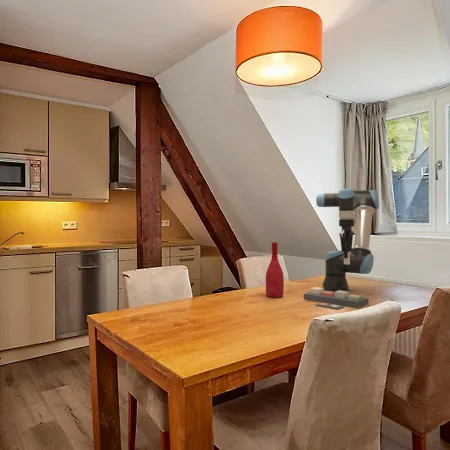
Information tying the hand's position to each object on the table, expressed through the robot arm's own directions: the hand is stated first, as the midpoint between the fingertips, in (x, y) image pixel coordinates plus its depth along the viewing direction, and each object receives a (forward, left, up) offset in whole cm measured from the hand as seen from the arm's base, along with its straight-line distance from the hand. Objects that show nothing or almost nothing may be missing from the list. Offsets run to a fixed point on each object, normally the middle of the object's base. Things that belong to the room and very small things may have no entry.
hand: (346, 264), depth 204 cm
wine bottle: (-35, -15, -20) cm, 43 cm away
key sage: (+7, -5, -18) cm, 20 cm away
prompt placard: (-1, -17, -19) cm, 26 cm away
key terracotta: (-7, -5, -18) cm, 20 cm away
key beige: (0, -5, -17) cm, 18 cm away
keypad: (-4, -5, -19) cm, 20 cm away
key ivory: (-14, -5, -17) cm, 23 cm away
